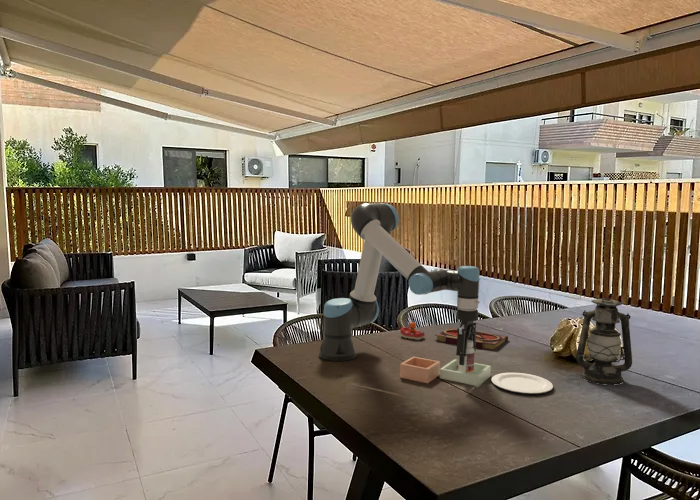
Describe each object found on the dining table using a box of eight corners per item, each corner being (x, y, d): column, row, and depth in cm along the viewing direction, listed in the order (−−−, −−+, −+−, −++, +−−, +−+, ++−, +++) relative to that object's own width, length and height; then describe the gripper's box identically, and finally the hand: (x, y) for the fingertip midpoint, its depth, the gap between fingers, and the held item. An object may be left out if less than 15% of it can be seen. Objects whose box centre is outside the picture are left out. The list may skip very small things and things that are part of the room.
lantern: (627, 375, 196) (632, 297, 194) (637, 393, 178) (642, 306, 176) (573, 369, 202) (577, 293, 200) (577, 386, 185) (582, 302, 182)
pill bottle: (477, 372, 191) (478, 341, 190) (465, 375, 187) (466, 344, 186) (464, 367, 196) (466, 338, 195) (453, 370, 192) (454, 340, 191)
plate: (522, 401, 171) (522, 396, 171) (478, 381, 189) (479, 377, 189) (566, 391, 180) (566, 386, 180) (521, 373, 199) (521, 369, 199)
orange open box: (399, 378, 190) (400, 363, 189) (413, 370, 199) (413, 356, 199) (427, 384, 184) (428, 369, 184) (439, 376, 193) (440, 361, 193)
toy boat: (404, 334, 254) (405, 319, 253) (426, 338, 248) (427, 322, 247) (397, 337, 248) (397, 322, 247) (419, 341, 241) (420, 325, 241)
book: (507, 342, 245) (508, 332, 244) (494, 352, 227) (494, 341, 226) (450, 334, 260) (450, 324, 259) (433, 342, 242) (434, 331, 242)
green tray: (439, 379, 190) (439, 369, 189) (454, 369, 201) (454, 359, 201) (477, 387, 182) (478, 376, 182) (490, 376, 194) (490, 365, 193)
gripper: (468, 314, 179) (466, 380, 181) (486, 305, 195) (483, 365, 197) (447, 312, 183) (445, 376, 185) (466, 303, 199) (464, 362, 201)
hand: (465, 370), depth 191 cm, fingers closed on pill bottle, 6 cm apart
